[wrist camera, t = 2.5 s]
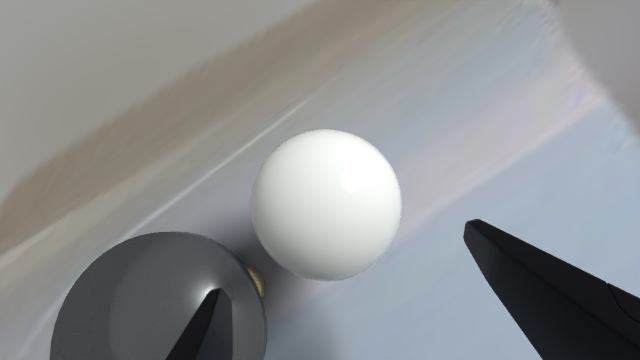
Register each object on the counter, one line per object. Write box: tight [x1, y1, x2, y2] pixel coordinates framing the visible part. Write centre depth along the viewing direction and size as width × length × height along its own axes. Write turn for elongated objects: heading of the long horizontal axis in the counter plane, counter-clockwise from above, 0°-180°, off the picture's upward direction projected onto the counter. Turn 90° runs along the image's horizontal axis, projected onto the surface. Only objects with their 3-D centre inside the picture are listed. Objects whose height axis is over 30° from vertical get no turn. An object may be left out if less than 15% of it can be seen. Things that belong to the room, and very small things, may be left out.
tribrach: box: [50, 232, 267, 360], centre depth 17 cm, size 13×13×3 cm
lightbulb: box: [251, 129, 402, 281], centre depth 14 cm, size 6×6×11 cm
